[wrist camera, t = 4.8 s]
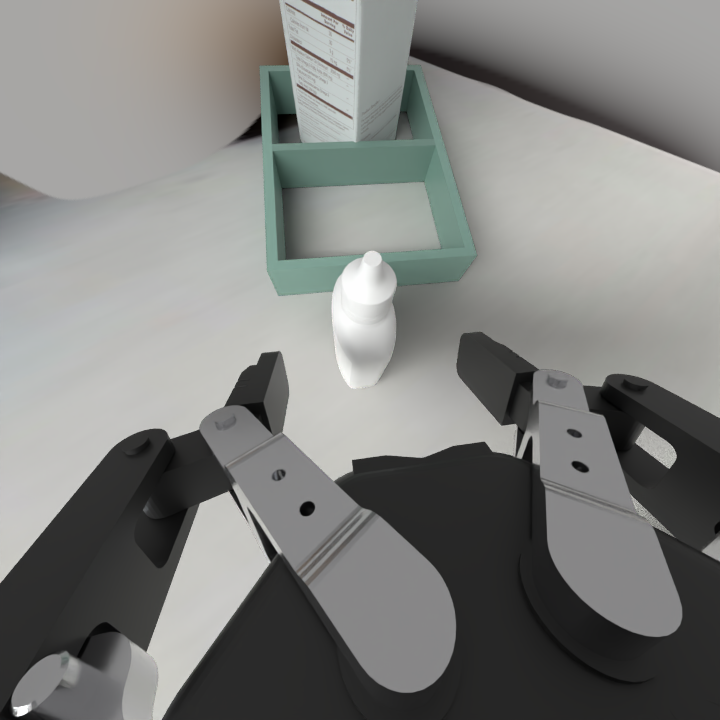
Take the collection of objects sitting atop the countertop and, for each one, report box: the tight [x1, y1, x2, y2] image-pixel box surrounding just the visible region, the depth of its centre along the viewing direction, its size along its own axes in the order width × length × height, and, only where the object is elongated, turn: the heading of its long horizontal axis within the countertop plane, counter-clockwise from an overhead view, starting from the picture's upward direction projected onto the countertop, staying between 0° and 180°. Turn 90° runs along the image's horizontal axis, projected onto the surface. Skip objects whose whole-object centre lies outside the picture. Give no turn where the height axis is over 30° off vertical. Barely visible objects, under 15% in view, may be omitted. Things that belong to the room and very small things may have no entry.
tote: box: [260, 65, 477, 296], centre depth 25 cm, size 16×23×4 cm
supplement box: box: [279, 0, 418, 143], centre depth 22 cm, size 7×7×13 cm
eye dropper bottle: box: [332, 251, 397, 389], centre depth 16 cm, size 4×6×12 cm
